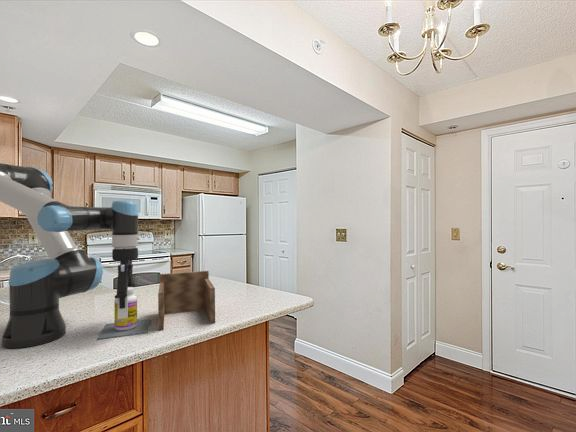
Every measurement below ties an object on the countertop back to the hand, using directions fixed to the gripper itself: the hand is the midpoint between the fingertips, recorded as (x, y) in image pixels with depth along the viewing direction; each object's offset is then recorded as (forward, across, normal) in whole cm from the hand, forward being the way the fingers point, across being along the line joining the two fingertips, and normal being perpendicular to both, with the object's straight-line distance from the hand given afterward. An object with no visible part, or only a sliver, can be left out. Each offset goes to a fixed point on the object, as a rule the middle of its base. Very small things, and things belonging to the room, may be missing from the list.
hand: (125, 312), depth 101 cm
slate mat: (+6, 0, 0) cm, 6 cm away
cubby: (+5, +4, -19) cm, 20 cm away
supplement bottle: (+5, 0, 0) cm, 5 cm away
